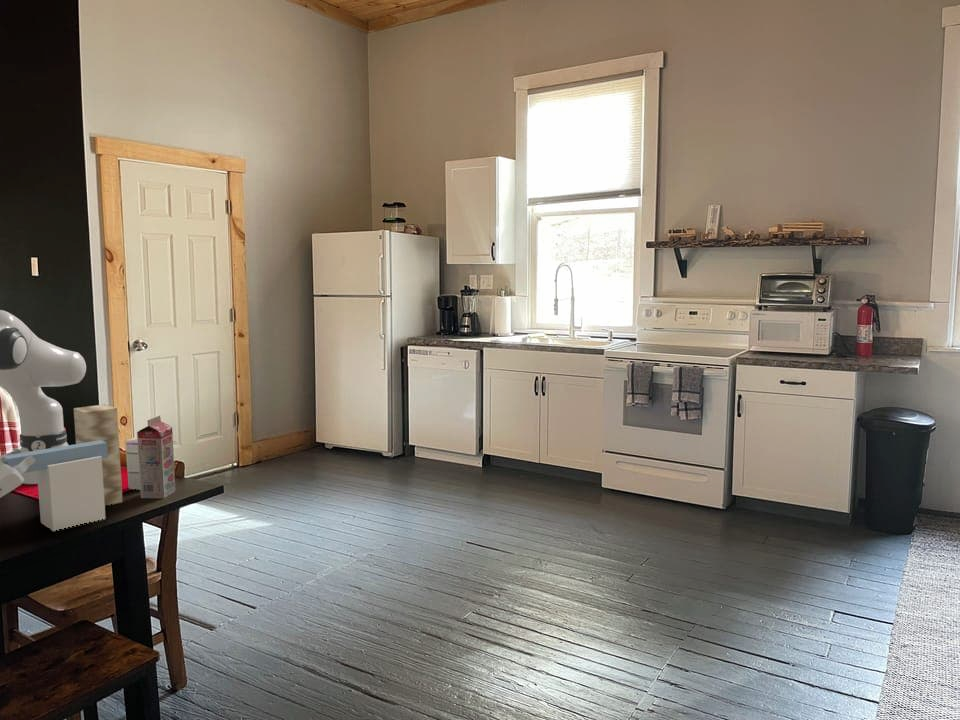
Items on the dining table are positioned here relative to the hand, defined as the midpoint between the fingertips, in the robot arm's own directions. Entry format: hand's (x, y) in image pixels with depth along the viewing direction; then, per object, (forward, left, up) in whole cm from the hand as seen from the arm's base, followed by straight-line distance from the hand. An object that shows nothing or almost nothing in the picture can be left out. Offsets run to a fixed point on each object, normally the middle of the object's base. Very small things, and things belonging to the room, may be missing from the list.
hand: (26, 454), depth 175 cm
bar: (-3, +6, -4) cm, 8 cm away
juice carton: (-22, +26, -19) cm, 39 cm away
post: (-19, +12, -19) cm, 29 cm away
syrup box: (-31, +21, -19) cm, 42 cm away
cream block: (-5, +8, -19) cm, 21 cm away
